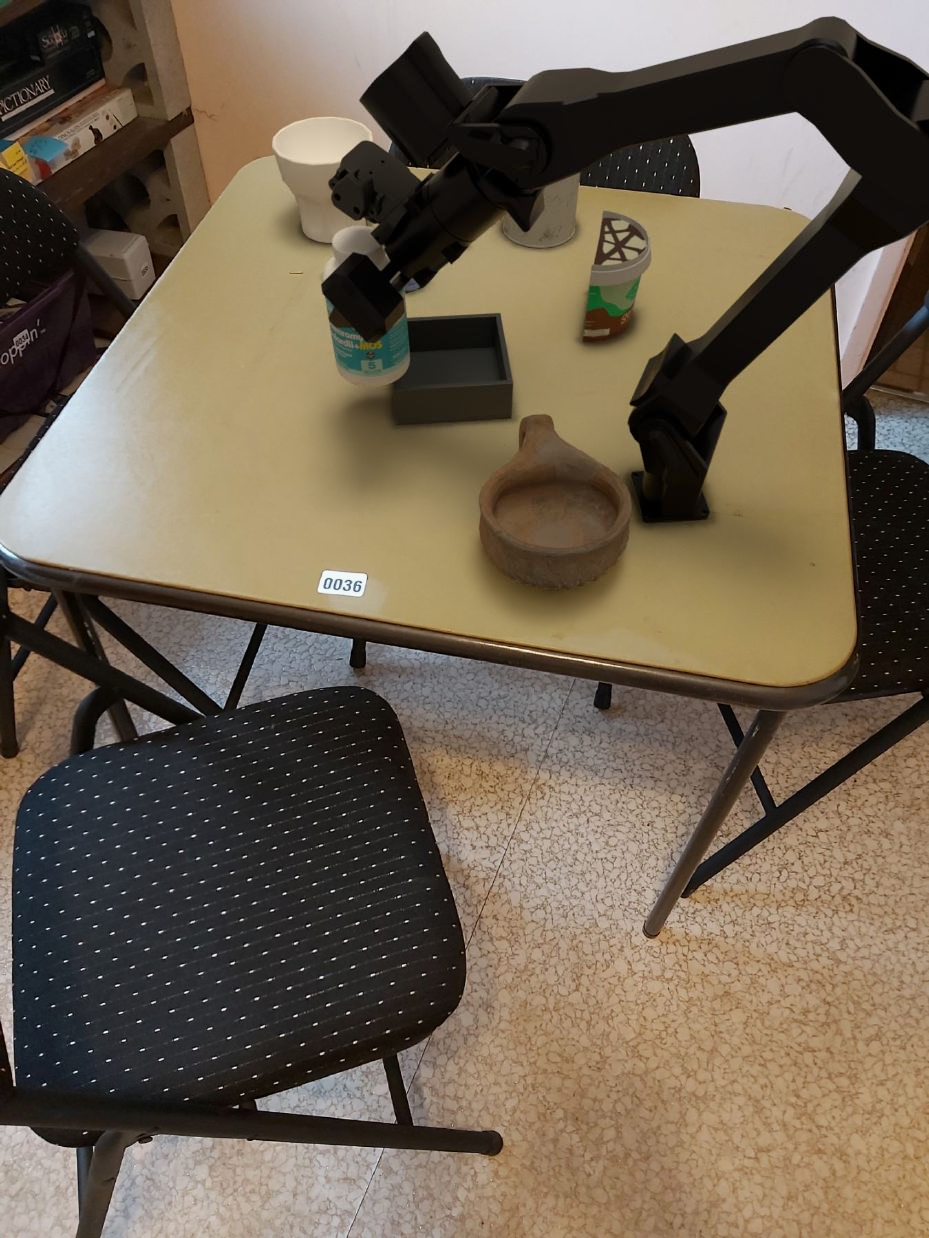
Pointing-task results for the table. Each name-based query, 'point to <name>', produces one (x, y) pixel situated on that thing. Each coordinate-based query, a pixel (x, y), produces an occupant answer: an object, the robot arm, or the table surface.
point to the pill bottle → (350, 349)
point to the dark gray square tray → (455, 370)
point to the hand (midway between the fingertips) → (353, 300)
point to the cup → (317, 169)
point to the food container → (615, 276)
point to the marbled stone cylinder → (549, 217)
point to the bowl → (553, 512)
